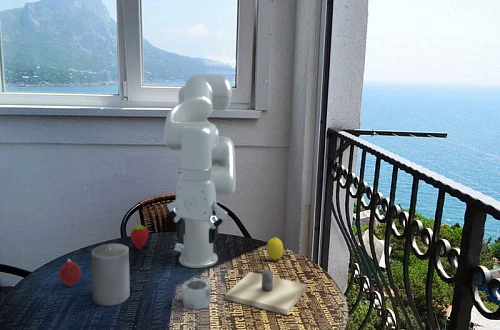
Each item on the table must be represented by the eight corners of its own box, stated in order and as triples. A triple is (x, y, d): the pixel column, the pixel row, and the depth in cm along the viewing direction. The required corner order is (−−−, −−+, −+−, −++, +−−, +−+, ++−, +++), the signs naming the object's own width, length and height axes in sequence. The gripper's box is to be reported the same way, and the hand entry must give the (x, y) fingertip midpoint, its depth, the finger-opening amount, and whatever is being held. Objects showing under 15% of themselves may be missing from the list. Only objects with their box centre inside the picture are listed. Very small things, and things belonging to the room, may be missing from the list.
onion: (86, 283, 132) (84, 257, 131) (70, 292, 127) (69, 265, 126) (71, 279, 135) (69, 253, 133) (55, 287, 130) (53, 261, 128)
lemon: (281, 264, 149) (282, 241, 147) (264, 262, 150) (265, 239, 148) (283, 257, 154) (284, 235, 152) (267, 256, 155) (268, 233, 153)
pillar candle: (88, 294, 126) (85, 243, 123) (122, 285, 132) (120, 236, 128) (100, 310, 118) (98, 255, 115) (136, 299, 124) (134, 247, 121)
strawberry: (148, 244, 163) (148, 217, 161) (148, 253, 155) (147, 224, 153) (131, 245, 162) (131, 218, 160) (130, 253, 154) (129, 225, 152)
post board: (225, 299, 125) (225, 277, 124) (249, 276, 139) (250, 256, 138) (287, 314, 118) (288, 291, 116) (306, 289, 132) (307, 268, 131)
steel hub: (178, 305, 121) (178, 287, 120) (192, 294, 127) (192, 277, 126) (201, 311, 118) (201, 293, 117) (214, 299, 125) (214, 282, 124)
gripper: (159, 173, 116) (160, 237, 119) (219, 181, 109) (219, 249, 112) (176, 168, 123) (176, 229, 126) (233, 175, 116) (232, 239, 119)
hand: (196, 238), depth 119 cm, fingers open, 9 cm apart
